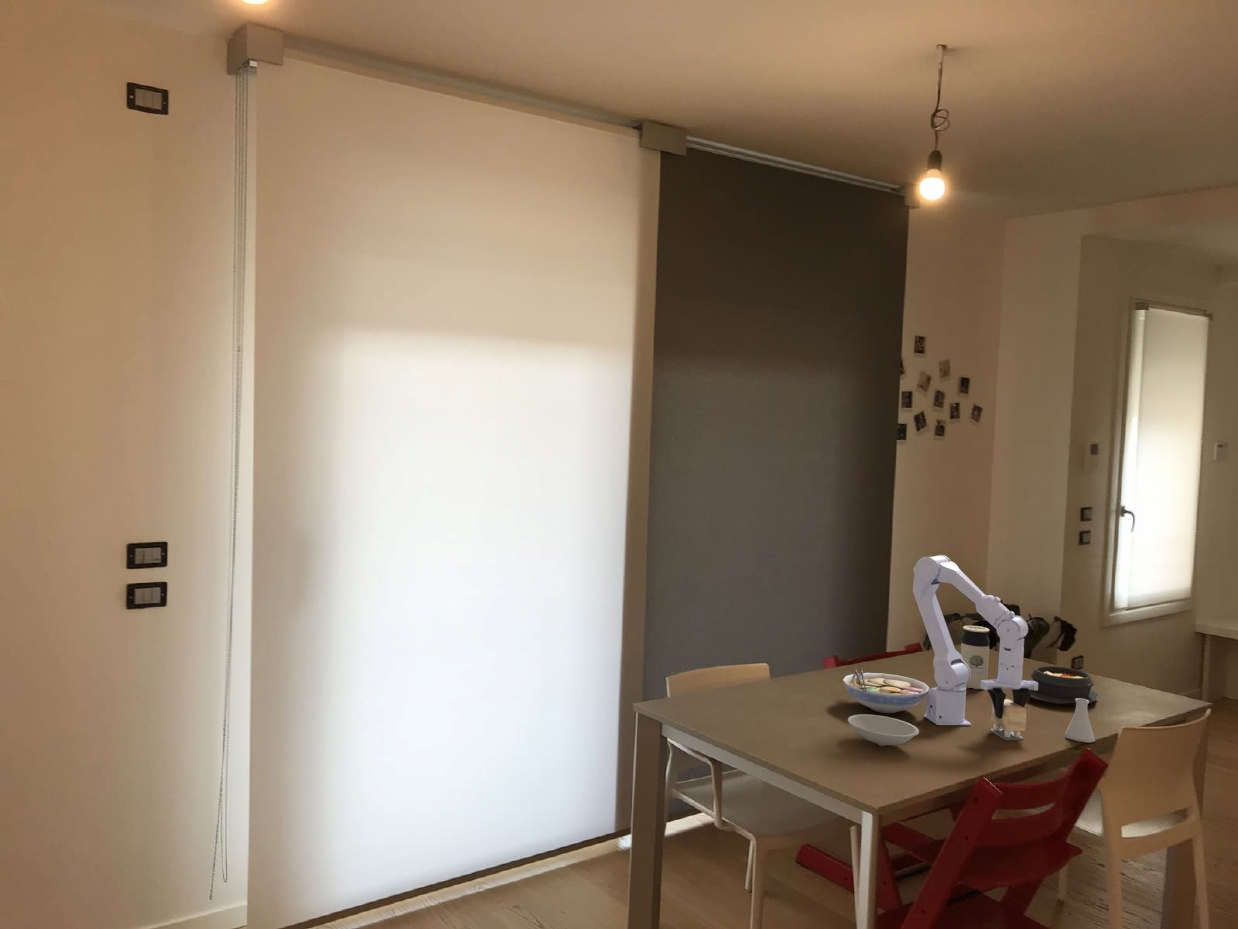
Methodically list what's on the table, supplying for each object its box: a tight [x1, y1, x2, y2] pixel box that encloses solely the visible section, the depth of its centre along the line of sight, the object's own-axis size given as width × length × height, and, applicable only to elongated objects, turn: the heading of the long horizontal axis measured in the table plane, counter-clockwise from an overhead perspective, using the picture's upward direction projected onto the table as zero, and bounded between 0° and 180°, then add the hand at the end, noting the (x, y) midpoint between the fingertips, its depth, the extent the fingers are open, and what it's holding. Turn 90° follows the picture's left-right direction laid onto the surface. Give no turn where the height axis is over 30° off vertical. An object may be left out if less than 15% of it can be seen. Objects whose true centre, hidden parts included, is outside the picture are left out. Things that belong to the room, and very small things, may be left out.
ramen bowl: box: [842, 666, 930, 714], centre depth 259 cm, size 25×23×8 cm
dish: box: [847, 714, 920, 747], centre depth 229 cm, size 18×14×5 cm
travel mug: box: [960, 625, 991, 690], centre depth 289 cm, size 8×8×18 cm
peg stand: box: [989, 722, 1025, 741], centre depth 241 cm, size 5×7×2 cm
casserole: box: [1029, 665, 1099, 706], centre depth 278 cm, size 25×19×8 cm
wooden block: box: [990, 698, 1027, 732], centre depth 241 cm, size 8×4×6 cm, turn 7°
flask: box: [1064, 698, 1096, 744], centre depth 241 cm, size 7×7×10 cm
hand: (1007, 717), depth 241 cm, fingers closed on wooden block, 4 cm apart
